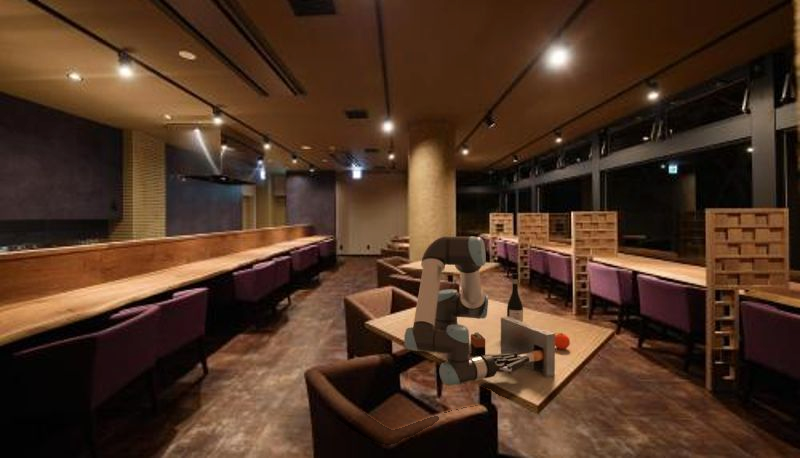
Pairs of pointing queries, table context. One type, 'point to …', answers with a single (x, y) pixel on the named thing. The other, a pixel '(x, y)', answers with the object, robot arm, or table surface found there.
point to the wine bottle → (515, 302)
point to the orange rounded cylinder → (538, 355)
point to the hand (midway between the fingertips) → (532, 356)
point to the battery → (477, 345)
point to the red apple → (561, 341)
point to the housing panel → (528, 343)
